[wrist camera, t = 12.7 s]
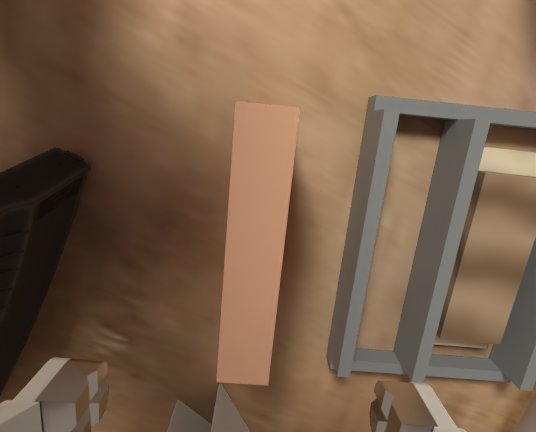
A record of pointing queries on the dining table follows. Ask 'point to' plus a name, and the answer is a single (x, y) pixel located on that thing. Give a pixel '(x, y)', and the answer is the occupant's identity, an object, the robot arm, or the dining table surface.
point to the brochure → (197, 428)
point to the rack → (427, 251)
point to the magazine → (32, 240)
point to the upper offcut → (490, 258)
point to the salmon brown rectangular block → (255, 238)
